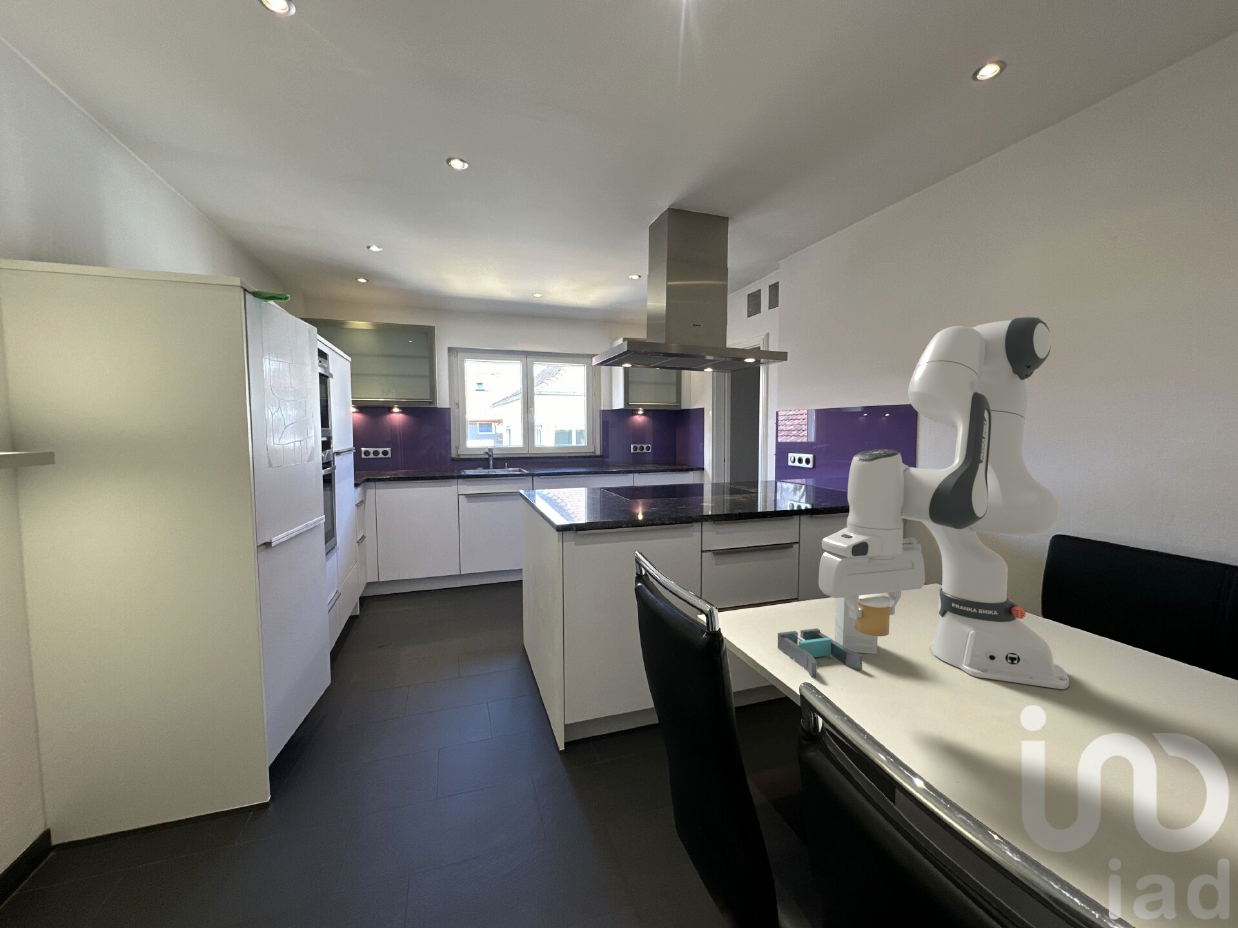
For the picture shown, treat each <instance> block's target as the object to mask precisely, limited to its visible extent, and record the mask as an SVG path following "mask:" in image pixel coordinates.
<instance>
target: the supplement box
mask: <svg viewBox="0 0 1238 928" xmlns="http://www.w3.org/2000/svg"><path fill="white" fill-rule="evenodd" d="M834 614H835V615H834V640H835V642H837V643H839V644H840V645H842V646H844V647H845V648H847V649H849V650H850V651H853V652H855V653H858V654H861V653H862V654H871V655H872V654H873V655H877V653H878V639H879V638H878V637H879V636H871V635H867V634H863V633H861V632H859V631H857V630H856V629H855V619H853V618H851V617H850V616H849V607H848V605H847V603H846V601H845V600H844V597H842V598H835V608H834Z"/></svg>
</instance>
